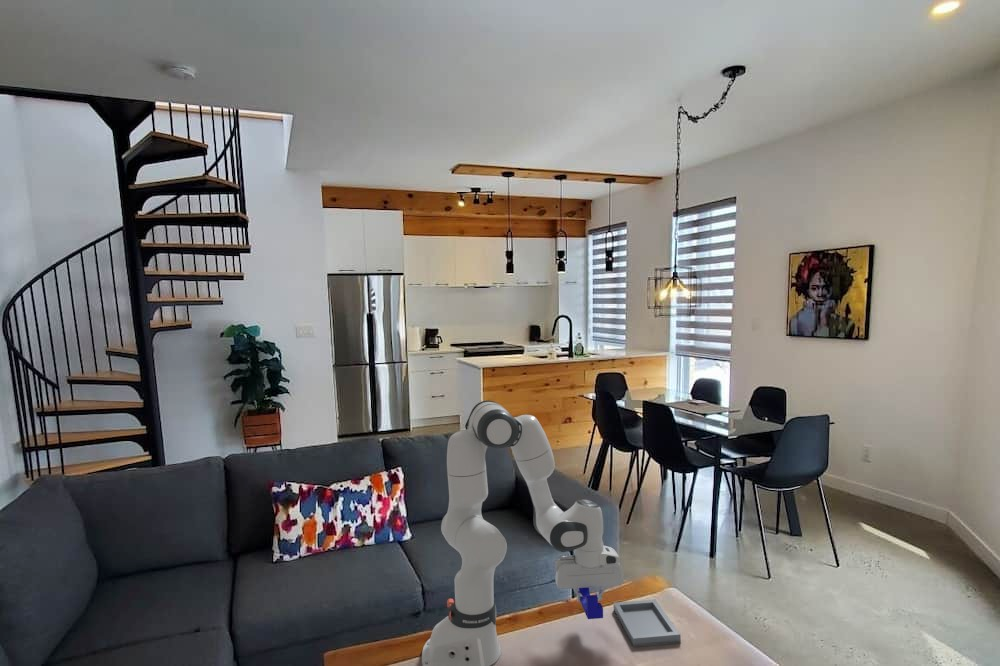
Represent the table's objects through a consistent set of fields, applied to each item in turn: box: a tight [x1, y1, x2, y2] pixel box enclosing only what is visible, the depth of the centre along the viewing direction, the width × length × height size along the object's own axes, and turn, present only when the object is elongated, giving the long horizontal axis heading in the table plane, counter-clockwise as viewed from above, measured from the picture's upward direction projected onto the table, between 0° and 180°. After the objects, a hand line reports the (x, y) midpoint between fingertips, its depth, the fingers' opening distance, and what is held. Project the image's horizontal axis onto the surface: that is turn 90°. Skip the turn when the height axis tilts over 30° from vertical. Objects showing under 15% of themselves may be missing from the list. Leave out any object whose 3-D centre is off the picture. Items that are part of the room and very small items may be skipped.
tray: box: [613, 599, 682, 648], centre depth 149 cm, size 14×18×2 cm
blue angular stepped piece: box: [578, 587, 604, 620], centre depth 146 cm, size 12×4×6 cm, turn 5°
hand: (589, 600), depth 147 cm, fingers closed on blue angular stepped piece, 4 cm apart
